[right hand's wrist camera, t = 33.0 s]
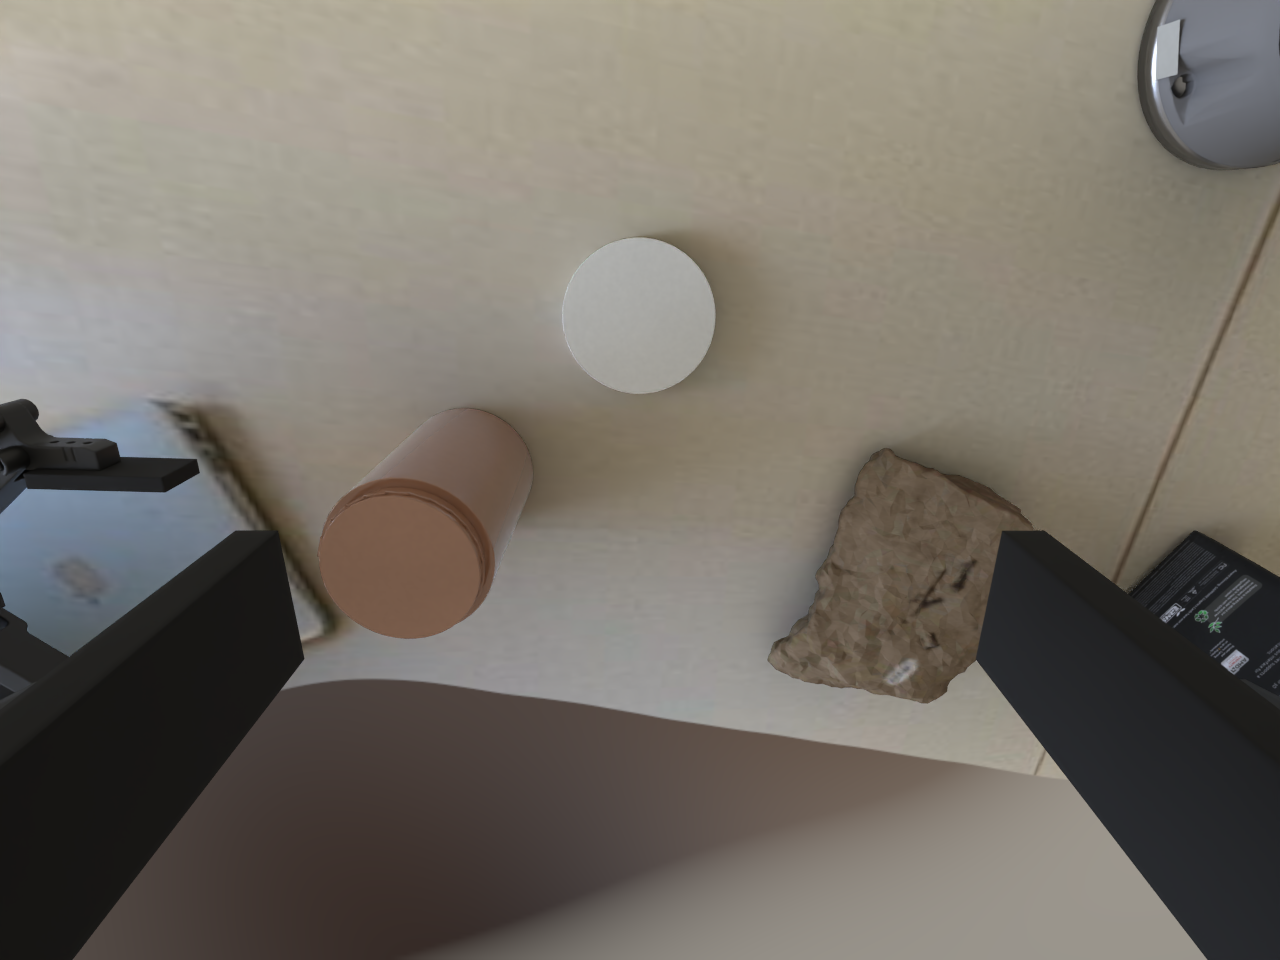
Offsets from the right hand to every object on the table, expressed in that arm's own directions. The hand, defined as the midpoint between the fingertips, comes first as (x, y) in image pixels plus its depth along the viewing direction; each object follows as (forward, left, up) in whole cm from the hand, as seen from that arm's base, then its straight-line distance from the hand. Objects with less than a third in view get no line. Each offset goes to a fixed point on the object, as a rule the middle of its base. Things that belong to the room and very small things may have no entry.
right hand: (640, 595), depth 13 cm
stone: (-27, +14, -41) cm, 50 cm away
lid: (0, 0, -39) cm, 39 cm away
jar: (+9, +16, -41) cm, 45 cm away
